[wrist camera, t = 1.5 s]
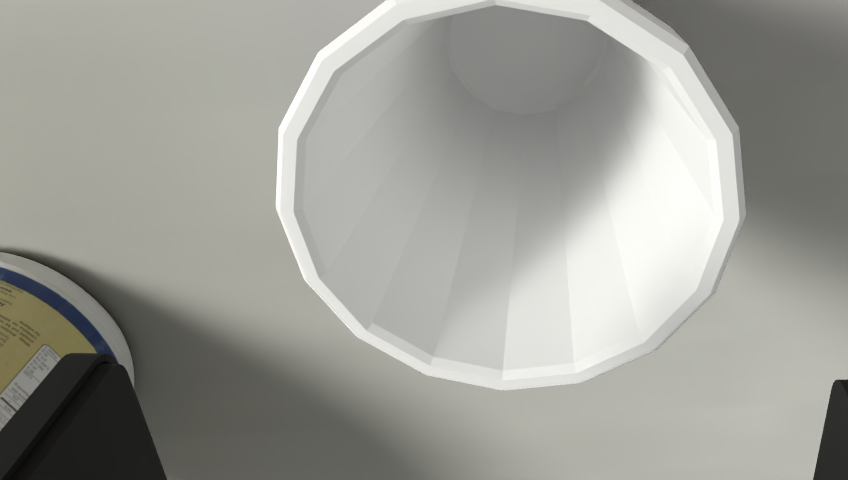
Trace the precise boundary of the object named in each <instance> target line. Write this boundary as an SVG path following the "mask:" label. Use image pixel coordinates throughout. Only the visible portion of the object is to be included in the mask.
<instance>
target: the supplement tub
mask: <svg viewBox="0 0 848 480" xmlns="http://www.w3.org/2000/svg"><path fill="white" fill-rule="evenodd" d="M69 353H105V354H110V355H111V356H113V357H114V358H115V360H116V362H117V363H118V364H121V365H123V366H124V367H125V368H126V370H127V372H128V374H129V377H130V380H131V383H132V385H133V388H134V368H133V362H132V357H131V354H130V350H129V348H128V345H127V343H126V340H125V338H124V336H123V334H122V332H121V330H120V329H119V327H118V326H117V324H116V323H115V321H114V320H113V319H112V318H111V316H110V315H109V314H108V313H107V311H106V310H105V309H104V308H103V307H102V306H101V305H100V304H99V303H98V302H97V301H96V300H95V299H94V298H93V297H91V296H90V295H89V294H88V293H87V292H86V291H84V290H83V289H82V288H81V287H79V286H78V285H77V284H75V283H74V282H72V281H71V280H70V279H68V278H66V277H65V276H63V275H61V274H60V273H58V272H56V271H55V270H53V269H51V268H49V267H47V266H44V265H42V264H40V263H37V262H35V261H32V260H29V259H26V258H23V257H20V256H16V255H12V254H9V253H3V252H0V431H1V429H2V428H3V427H4V426H5V425H6V423H7V422H8V421H9V420H10V419H11V418H12V416H13V415H14V414H15V413H16V412H17V410H18V409H19V408H20V407H21V406H22V404H23V403H24V402H25V401H26V400H27V398H28V397H29V396H30V395H31V394H32V393H33V391H34V390H35V389H36V388H37V387H38V385H39V384H40V383H41V382H42V381H43V379H44V378H45V377H46V376H47V375H48V373H49V372H50V371H51V370H52V369H53V367H54V366H55V365H56V364H57V363H58V362H59V360H60V359H61V358H63V357H64V356H65V355H66V354H69Z"/></svg>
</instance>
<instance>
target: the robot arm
mask: <svg viewBox="0 0 848 480" xmlns="http://www.w3.org/2000/svg"><path fill="white" fill-rule="evenodd" d="M0 480H167V478H166V476H165V473H164V470H163V467H162V465H161V462H160V459H159V456H158V454H157V451H156V448H155V445H154V443H153V440H152V437H151V435H150V432H149V429H148V426H147V424H146V421H145V418H144V415H143V413H142V410H141V407H140V404H139V402H138V399H137V396H136V393H135V391H134V388H133V385H132V383H131V380H130V377H129V374H128V372H127V370H126V368H125V367H124V366H123V365H121V364H118V363H117V362H116V360H115V358H114V357H113V356H111V355H110V354H105V353H69V354H66V355H65V356H64V357H63V358H61V359H60V360H59V362H58V363H57V364H56V365H55V366H54V367H53V369H52V370H51V371H50V372H49V373H48V375H47V376H46V377H45V378H44V379H43V381H42V382H41V383H40V384H39V385H38V387H37V388H36V389H35V390H34V391H33V393H32V394H31V395H30V396H29V397H28V398H27V400H26V401H25V402H24V403H23V404H22V406H21V407H20V408H19V409H18V410H17V412H16V413H15V414H14V415H13V416H12V418H11V419H10V420H9V421H8V422H7V423H6V425H5V426H4V427H3V428H2V429H1V431H0ZM813 480H848V380H835V382H834V383H833V386H832V389H831V394H830V399H829V404H828V409H827V414H826V419H825V424H824V429H823V434H822V439H821V444H820V449H819V454H818V458H817V463H816V468H815V473H814V478H813Z"/></svg>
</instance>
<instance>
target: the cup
mask: <svg viewBox="0 0 848 480" xmlns="http://www.w3.org/2000/svg"><path fill="white" fill-rule="evenodd" d="M276 209H277V212H278V214H279V217H280V220H281V222H282V225H283V227H284V230H285V232H286V235H287V237H288V240H289V242H290V245H291V247H292V250H293V252H294V255H295V257H296V260H297V263H298V265H299V268H300V270H301V273H302V275H303V278H304V280H305V281H306V282H307V283H308V284H309V285H310V286H311V288H312V289H313V290H314V291H315V292H316V293H317V294H318V295H319V296H320V297H321V298H322V300H323V301H324V302H325V303H326V304H327V305H328V306H329V307H330V308H331V309H332V310H333V312H334V313H335V314H336V315H337V316H338V317H339V318H340V319H341V320H342V321H343V322H344V324H345V325H346V326H347V327H348V328H349V329H350V330H351V331H352V332H353V333H354V334H355V336H356V337H358V338H360V339H362V340H364V341H365V342H367V343H369V344H371V345H373V346H374V347H376V348H378V349H380V350H382V351H383V352H385V353H387V354H389V355H391V356H393V357H394V358H396V359H398V360H400V361H402V362H403V363H405V364H407V365H409V366H411V367H413V368H414V369H416V370H418V371H420V372H422V373H423V374H425V375H429V376H434V377H439V378H444V379H449V380H453V381H458V382H463V383H468V384H473V385H478V386H483V387H488V388H493V389H498V390H513V389H523V388H533V387H543V386H553V385H563V384H573V383H583V382H585V381H588V380H590V379H592V378H594V377H597V376H599V375H601V374H603V373H606V372H608V371H610V370H612V369H615V368H617V367H619V366H621V365H624V364H626V363H628V362H630V361H633V360H635V359H637V358H639V357H642V356H644V355H646V354H648V353H651V352H653V351H655V350H657V349H658V348H659V347H660V346H661V345H662V344H663V343H665V342H666V341H667V340H668V339H669V338H670V337H671V336H672V335H673V334H674V333H675V332H676V331H677V330H678V329H679V328H680V327H681V326H682V325H683V324H684V323H685V322H686V321H687V320H688V319H689V318H690V317H691V316H692V315H693V314H694V313H695V312H696V311H697V310H698V309H699V308H700V307H701V306H702V305H703V304H704V303H705V302H706V301H707V300H708V299H709V298H710V297H711V296H712V295H713V294H714V293H715V292H716V290H717V287H718V285H719V282H720V280H721V277H722V275H723V272H724V270H725V267H726V265H727V262H728V260H729V257H730V255H731V252H732V250H733V247H734V245H735V242H736V240H737V237H738V235H739V232H740V230H741V227H742V225H743V222H744V220H745V217H746V208H745V195H744V182H743V170H742V157H741V145H740V132H739V127H738V125H737V124H736V122H735V120H734V119H733V117H732V116H731V114H730V112H729V111H728V109H727V107H726V106H725V104H724V102H723V101H722V99H721V98H720V96H719V94H718V93H717V91H716V89H715V88H714V86H713V84H712V83H711V81H710V79H709V78H708V76H707V75H706V73H705V71H704V70H703V68H702V66H701V65H700V63H699V61H698V60H697V58H696V57H695V55H694V53H693V52H692V50H691V48H690V47H689V45H688V44H687V43H686V42H685V41H684V40H683V39H682V38H681V37H680V36H679V35H678V34H677V33H676V32H675V31H674V30H673V29H672V28H671V27H670V26H668V25H667V24H666V23H664V22H663V21H661V20H660V19H658V18H657V17H655V16H654V15H652V14H651V13H649V12H648V11H646V10H645V9H643V8H642V7H640V6H639V5H637V4H636V3H634V2H633V1H631V0H386V1H385V2H383V3H382V4H381V5H380V6H378V7H377V8H376V9H374V10H373V11H372V12H370V13H369V14H368V15H366V16H365V17H364V18H363V19H361V20H360V21H359V22H357V23H356V24H355V25H353V26H352V27H351V28H349V29H348V30H347V31H345V32H344V33H343V34H342V35H340V36H339V37H338V38H336V39H335V40H334V41H332V42H331V43H330V44H328V45H327V46H326V47H324V48H323V49H322V50H321V51H319V52H318V54H317V56H316V58H315V60H314V61H313V63H312V65H311V67H310V69H309V71H308V73H307V75H306V77H305V79H304V81H303V83H302V85H301V86H300V88H299V90H298V92H297V94H296V96H295V98H294V100H293V102H292V104H291V106H290V108H289V110H288V111H287V113H286V115H285V117H284V119H283V121H282V123H281V125H280V127H279V136H278V163H277V191H276Z"/></svg>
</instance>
